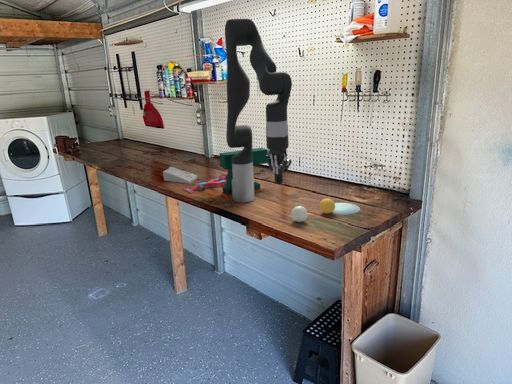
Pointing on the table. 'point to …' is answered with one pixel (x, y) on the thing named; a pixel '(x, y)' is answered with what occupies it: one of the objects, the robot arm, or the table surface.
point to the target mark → (345, 209)
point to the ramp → (178, 176)
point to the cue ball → (299, 213)
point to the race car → (209, 183)
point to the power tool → (227, 164)
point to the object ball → (327, 205)
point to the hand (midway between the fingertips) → (278, 183)
